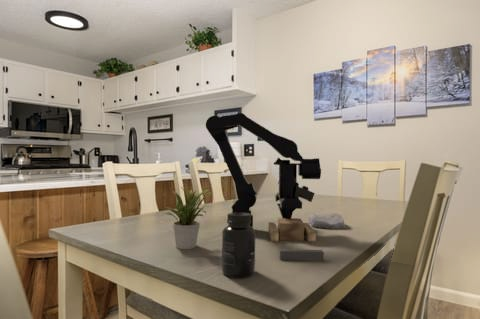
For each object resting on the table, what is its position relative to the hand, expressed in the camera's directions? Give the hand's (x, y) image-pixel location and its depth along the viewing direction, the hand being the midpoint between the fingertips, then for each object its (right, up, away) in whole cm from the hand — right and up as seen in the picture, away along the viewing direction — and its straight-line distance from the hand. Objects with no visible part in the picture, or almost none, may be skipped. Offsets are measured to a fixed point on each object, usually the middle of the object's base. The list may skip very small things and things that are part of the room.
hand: (287, 226), depth 99 cm
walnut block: (0, -2, -7) cm, 7 cm away
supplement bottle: (-16, -1, -37) cm, 40 cm away
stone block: (+15, -2, +9) cm, 18 cm away
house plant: (-28, -1, -18) cm, 34 cm away
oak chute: (0, -2, -7) cm, 7 cm away
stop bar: (-1, -1, -28) cm, 28 cm away
